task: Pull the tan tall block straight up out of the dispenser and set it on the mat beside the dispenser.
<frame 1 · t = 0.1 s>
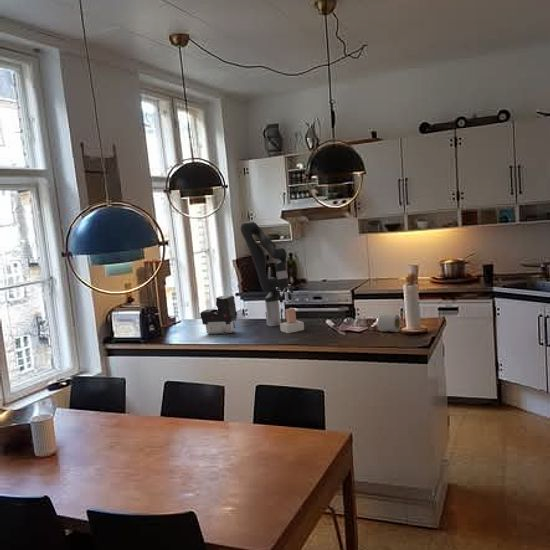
hand: (285, 301, 374), 17 cm above the table, tool pointing down, fingers open, 8 cm apart
toilet paper: (390, 331, 330), on the table
bill acceptor: (221, 333, 377), on the table
tan tall block: (292, 330, 357), point 1 cm above the table, touching dispenser
dispenser: (292, 331, 357), on the table
mat: (307, 333, 348), on the table
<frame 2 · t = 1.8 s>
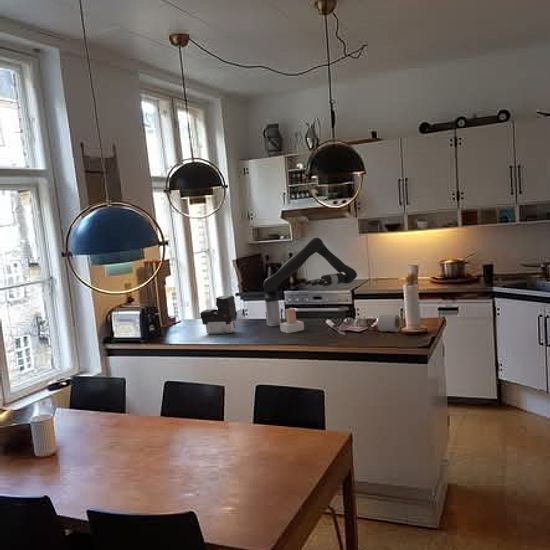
hand: (308, 283, 360), 29 cm above the table, tool horizontal, fingers open, 8 cm apart
nothing on the table moved.
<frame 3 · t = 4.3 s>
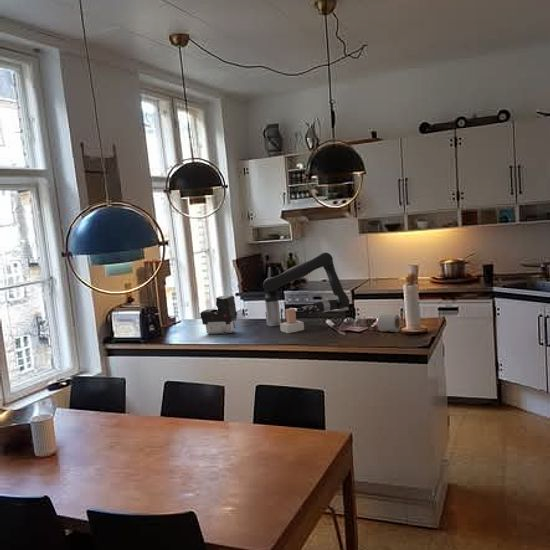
hand: (300, 310, 359), 12 cm above the table, tool horizontal, fingers open, 8 cm apart
nothing on the table moved.
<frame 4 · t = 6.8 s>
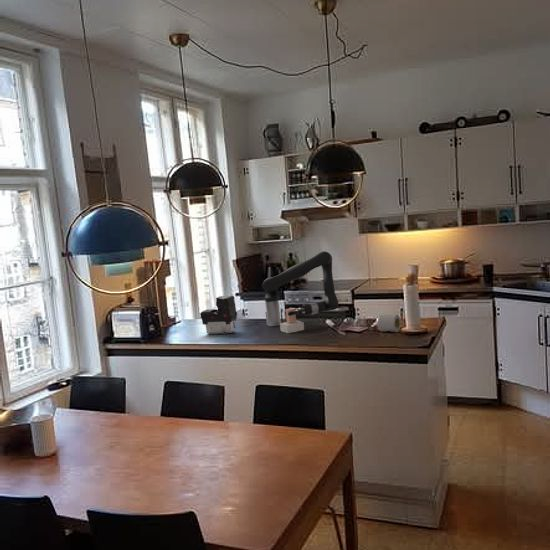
hand: (286, 313, 355), 12 cm above the table, tool horizontal, fingers closed on tan tall block, 4 cm apart
tan tall block: (292, 330, 357), point 1 cm above the table, touching dispenser, gripper
everything else where it was.
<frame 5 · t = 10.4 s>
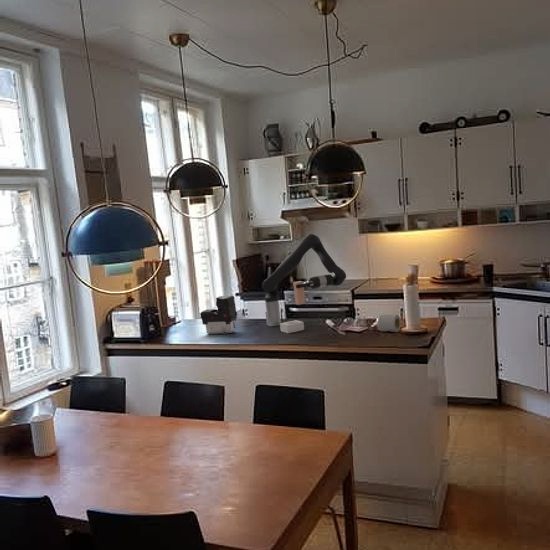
hand: (294, 286, 347), 30 cm above the table, tool horizontal, fingers closed on tan tall block, 4 cm apart
tan tall block: (300, 303, 349), point 19 cm above the table, touching gripper
everything else where it was.
when the fingers open (13 cm above the table, at t = 14.4 s): tan tall block stays where it is, resting on mat.
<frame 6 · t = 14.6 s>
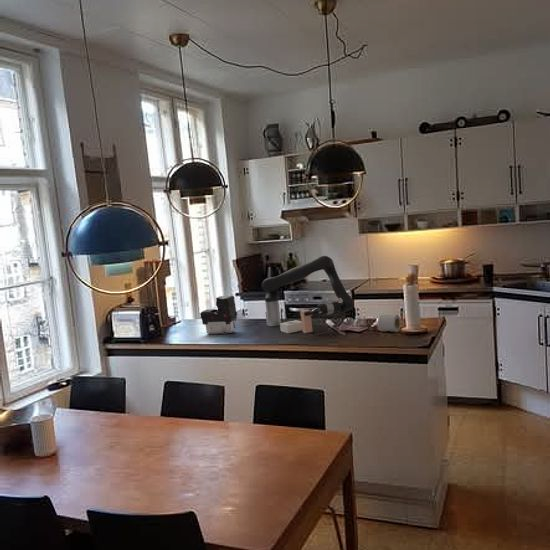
hand: (302, 313, 346), 13 cm above the table, tool horizontal, fingers open, 6 cm apart
tan tall block: (307, 332, 348), point 1 cm above the table, touching mat
everything else where it was.
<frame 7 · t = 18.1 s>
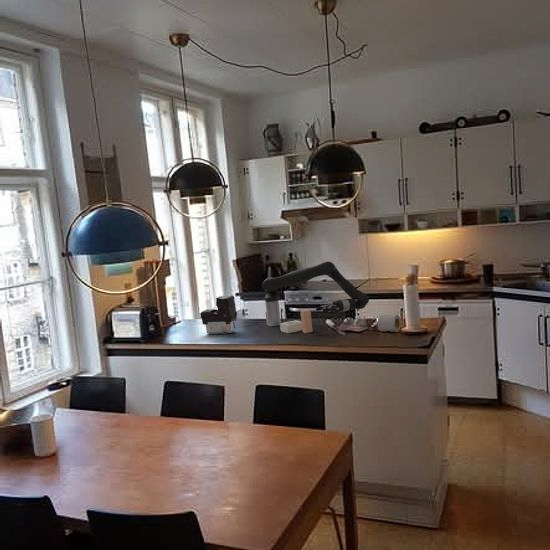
hand: (319, 310, 351), 13 cm above the table, tool horizontal, fingers open, 8 cm apart
nothing on the table moved.
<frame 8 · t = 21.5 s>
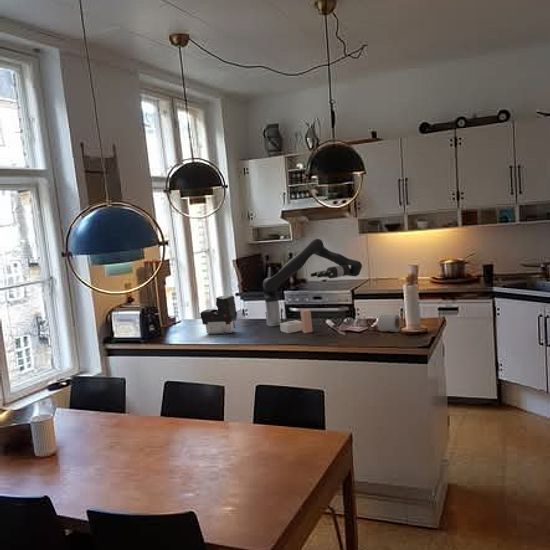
hand: (314, 275, 361), 34 cm above the table, tool horizontal, fingers open, 8 cm apart
nothing on the table moved.
at the end: tan tall block inside the target area (0.1 cm from its centre), point 0.6 cm above the table; the gripper is holding nothing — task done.
